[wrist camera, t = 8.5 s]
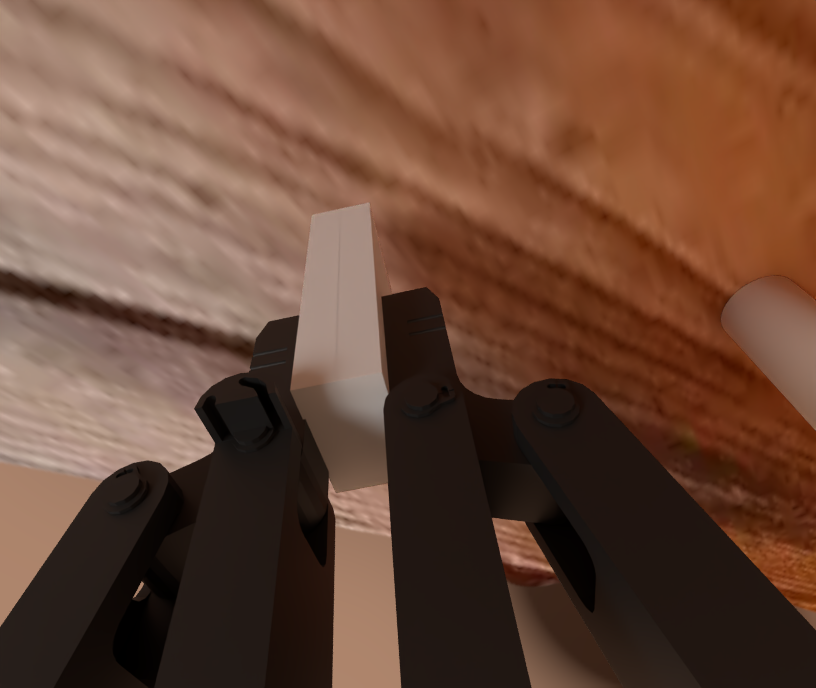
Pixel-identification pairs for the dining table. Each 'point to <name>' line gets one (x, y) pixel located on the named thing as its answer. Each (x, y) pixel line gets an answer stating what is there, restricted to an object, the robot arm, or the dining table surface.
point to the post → (778, 336)
